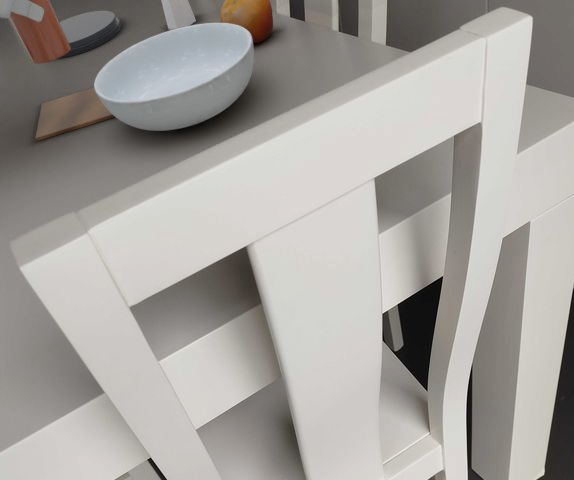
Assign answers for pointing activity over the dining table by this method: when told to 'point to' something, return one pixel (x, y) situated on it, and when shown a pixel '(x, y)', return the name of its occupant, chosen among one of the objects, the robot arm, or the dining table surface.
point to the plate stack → (89, 30)
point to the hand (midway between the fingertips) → (35, 10)
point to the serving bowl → (178, 76)
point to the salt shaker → (178, 13)
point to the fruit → (249, 16)
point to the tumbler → (41, 34)
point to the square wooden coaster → (71, 113)
